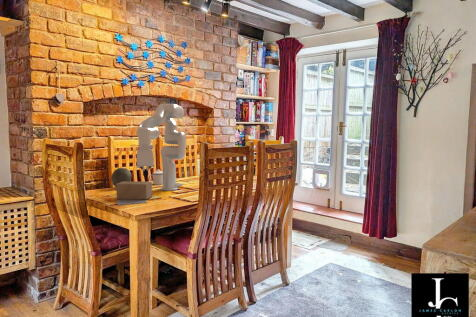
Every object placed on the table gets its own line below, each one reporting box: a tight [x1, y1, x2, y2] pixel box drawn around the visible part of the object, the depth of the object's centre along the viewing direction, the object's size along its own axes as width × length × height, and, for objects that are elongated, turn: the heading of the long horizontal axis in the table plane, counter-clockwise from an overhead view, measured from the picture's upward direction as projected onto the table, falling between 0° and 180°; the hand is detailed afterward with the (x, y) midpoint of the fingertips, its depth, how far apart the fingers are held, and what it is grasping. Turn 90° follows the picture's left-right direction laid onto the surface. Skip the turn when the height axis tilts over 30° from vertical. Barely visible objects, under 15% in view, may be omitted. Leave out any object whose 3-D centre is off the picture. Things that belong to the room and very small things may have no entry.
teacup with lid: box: [148, 168, 163, 186], centre depth 281 cm, size 12×9×12 cm
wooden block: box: [115, 181, 153, 200], centre depth 230 cm, size 10×10×20 cm
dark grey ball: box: [110, 167, 133, 188], centre depth 265 cm, size 14×14×15 cm
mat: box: [115, 199, 148, 206], centre depth 221 cm, size 17×14×1 cm
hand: (145, 176), depth 223 cm, fingers closed
